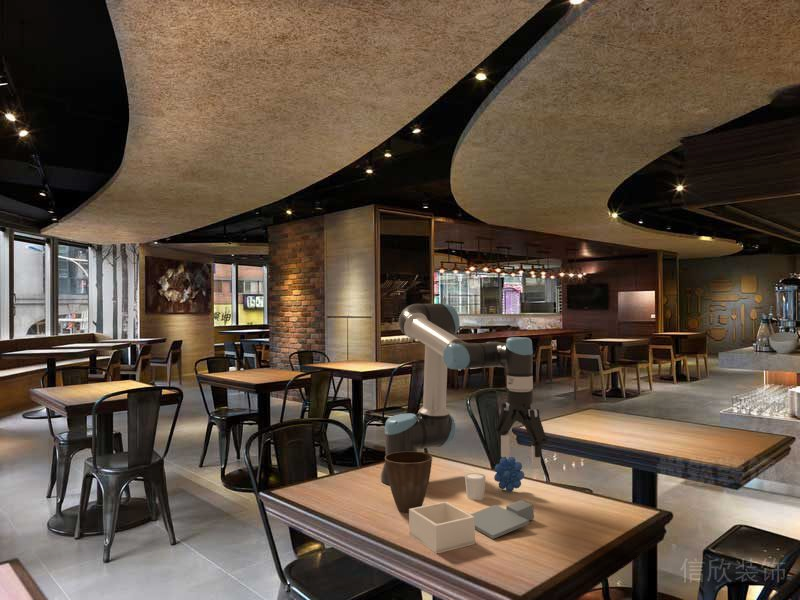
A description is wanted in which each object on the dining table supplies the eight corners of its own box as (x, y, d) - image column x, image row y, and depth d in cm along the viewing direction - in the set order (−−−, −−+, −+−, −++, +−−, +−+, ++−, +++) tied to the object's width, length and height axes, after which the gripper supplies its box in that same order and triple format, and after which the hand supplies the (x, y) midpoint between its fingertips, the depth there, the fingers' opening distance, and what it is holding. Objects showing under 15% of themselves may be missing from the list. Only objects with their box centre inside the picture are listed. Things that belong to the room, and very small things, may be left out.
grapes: (531, 492, 185) (530, 456, 185) (520, 497, 180) (519, 460, 180) (501, 485, 193) (500, 450, 193) (490, 489, 188) (490, 454, 188)
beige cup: (473, 492, 186) (473, 471, 186) (490, 497, 181) (489, 475, 181) (460, 497, 181) (460, 476, 181) (477, 502, 176) (477, 480, 176)
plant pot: (378, 504, 175) (378, 453, 176) (421, 497, 181) (420, 449, 181) (395, 520, 162) (394, 465, 162) (441, 512, 167) (440, 459, 168)
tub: (409, 534, 151) (409, 508, 151) (446, 526, 156) (445, 501, 157) (436, 553, 138) (435, 525, 139) (475, 543, 144) (474, 516, 144)
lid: (462, 528, 159) (460, 514, 159) (512, 508, 168) (510, 495, 168) (494, 546, 146) (492, 531, 146) (546, 523, 155) (544, 509, 155)
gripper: (483, 385, 171) (484, 453, 171) (539, 397, 149) (540, 475, 149) (502, 383, 174) (503, 450, 174) (559, 394, 152) (560, 471, 152)
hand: (520, 462), depth 161 cm, fingers open, 13 cm apart
